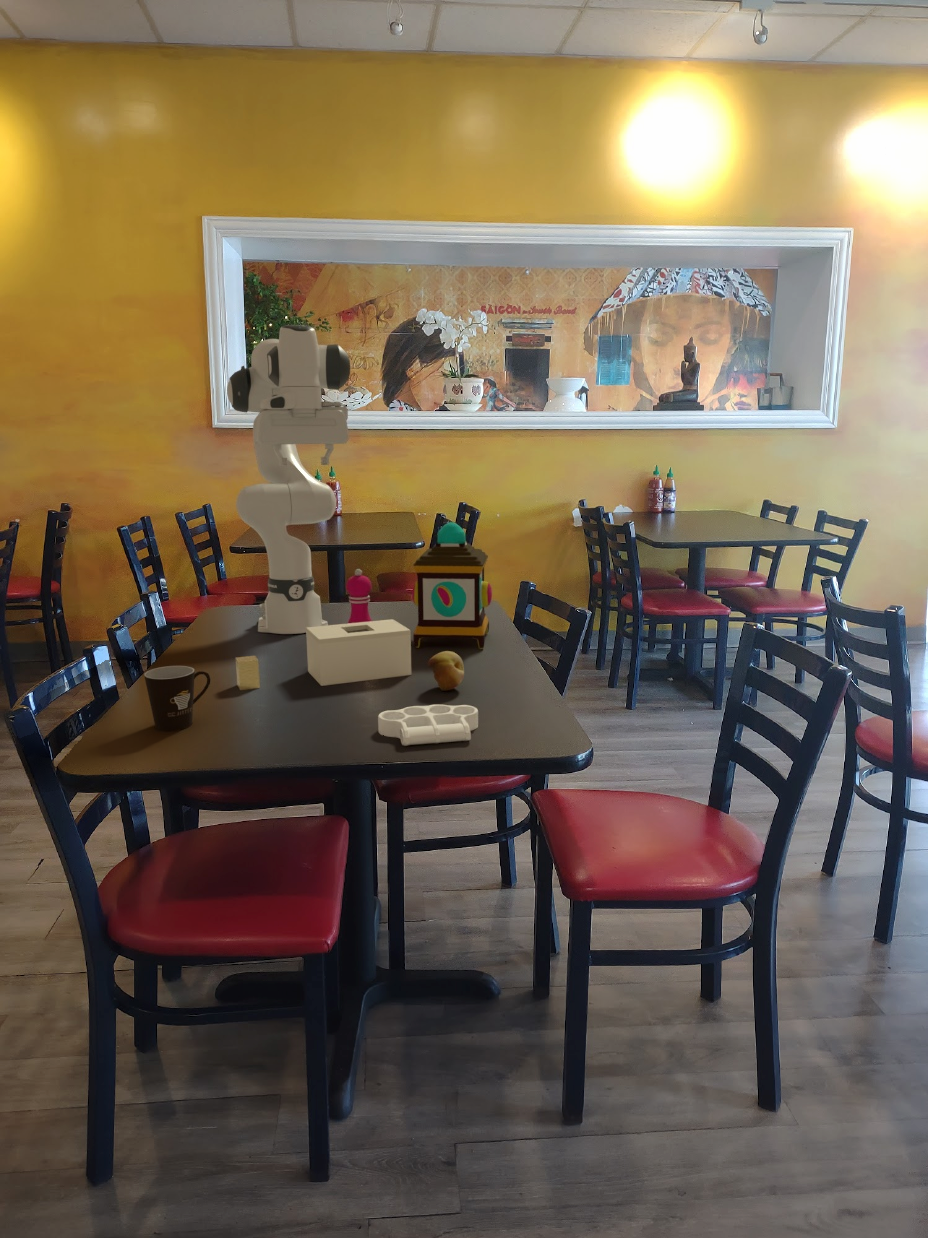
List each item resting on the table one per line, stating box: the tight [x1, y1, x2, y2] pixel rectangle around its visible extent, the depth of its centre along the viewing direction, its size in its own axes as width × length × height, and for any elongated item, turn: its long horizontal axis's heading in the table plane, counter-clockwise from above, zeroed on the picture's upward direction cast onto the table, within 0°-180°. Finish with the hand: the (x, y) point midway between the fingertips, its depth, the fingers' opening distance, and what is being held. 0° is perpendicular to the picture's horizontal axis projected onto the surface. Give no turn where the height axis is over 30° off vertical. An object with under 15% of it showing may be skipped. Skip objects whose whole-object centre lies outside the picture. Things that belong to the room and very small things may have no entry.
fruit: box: [427, 650, 465, 691], centre depth 176 cm, size 8×8×8 cm
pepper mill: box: [345, 568, 373, 624], centre depth 206 cm, size 7×7×20 cm
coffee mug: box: [143, 665, 211, 732], centre depth 156 cm, size 12×9×10 cm
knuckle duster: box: [377, 704, 479, 747], centre depth 152 cm, size 3×18×15 cm
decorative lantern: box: [411, 521, 493, 650], centre depth 214 cm, size 20×20×30 cm
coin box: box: [305, 618, 412, 687], centre depth 188 cm, size 12×20×10 cm, turn 113°
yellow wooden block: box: [235, 655, 261, 691], centre depth 179 cm, size 4×4×6 cm
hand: (304, 465), depth 191 cm, fingers open, 8 cm apart
